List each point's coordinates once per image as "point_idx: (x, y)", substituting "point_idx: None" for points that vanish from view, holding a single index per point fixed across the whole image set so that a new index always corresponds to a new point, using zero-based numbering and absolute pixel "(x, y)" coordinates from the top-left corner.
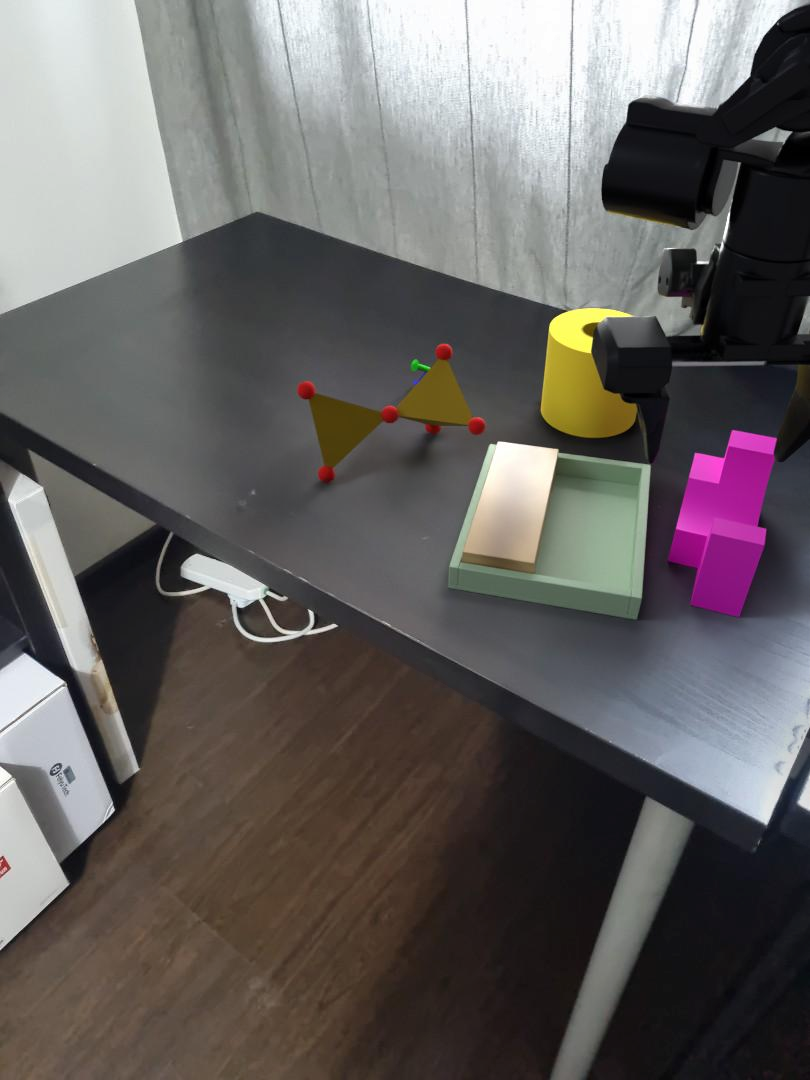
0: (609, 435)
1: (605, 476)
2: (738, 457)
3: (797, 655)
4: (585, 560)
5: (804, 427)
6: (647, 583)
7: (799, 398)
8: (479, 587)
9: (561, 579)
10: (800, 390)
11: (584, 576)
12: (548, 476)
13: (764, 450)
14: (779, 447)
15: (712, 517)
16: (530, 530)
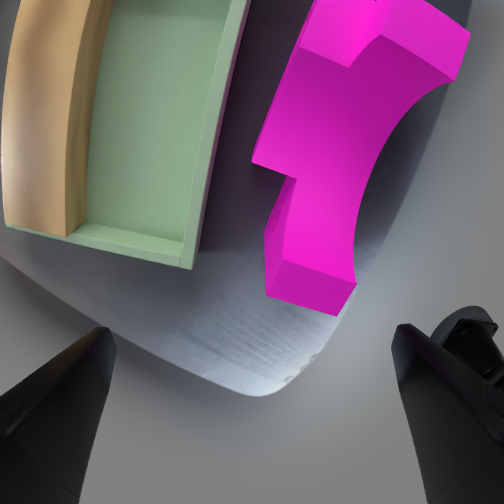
0: None
1: None
2: (392, 51)
3: (353, 292)
4: (140, 163)
5: (420, 464)
6: (218, 192)
7: (468, 455)
8: None
9: (102, 241)
10: (480, 465)
11: (139, 193)
12: (73, 47)
13: (441, 62)
14: (403, 360)
15: (323, 119)
16: (54, 177)
